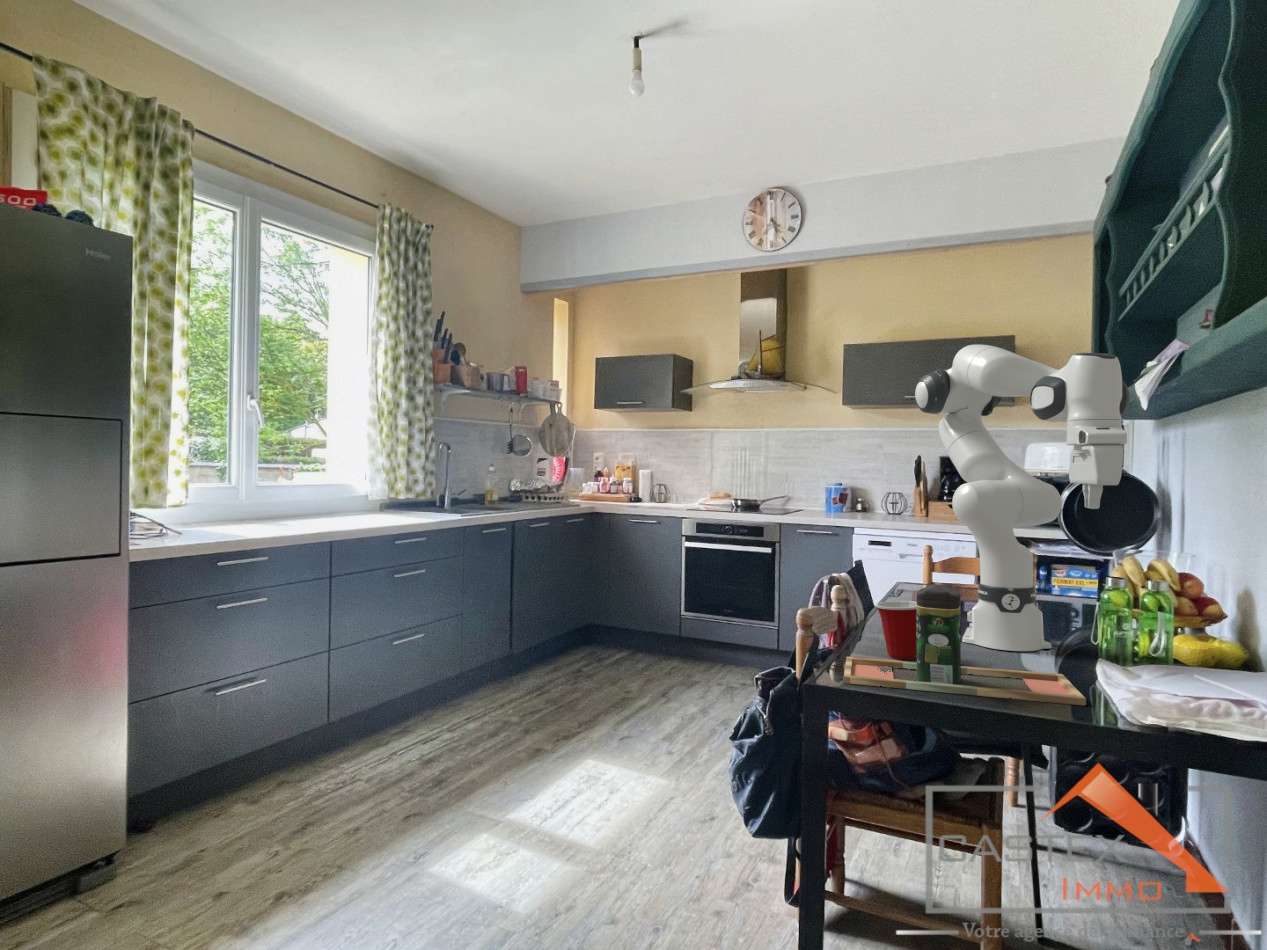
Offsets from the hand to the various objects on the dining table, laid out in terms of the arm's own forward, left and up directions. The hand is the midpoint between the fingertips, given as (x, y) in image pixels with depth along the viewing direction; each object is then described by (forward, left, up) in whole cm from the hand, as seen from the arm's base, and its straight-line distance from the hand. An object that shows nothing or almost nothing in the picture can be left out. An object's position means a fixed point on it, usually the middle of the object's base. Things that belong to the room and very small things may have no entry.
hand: (1092, 508), depth 136 cm
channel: (+7, -25, -34) cm, 42 cm away
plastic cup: (-10, -34, -34) cm, 49 cm away
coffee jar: (+8, -28, -34) cm, 45 cm away
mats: (+7, -25, -34) cm, 42 cm away
